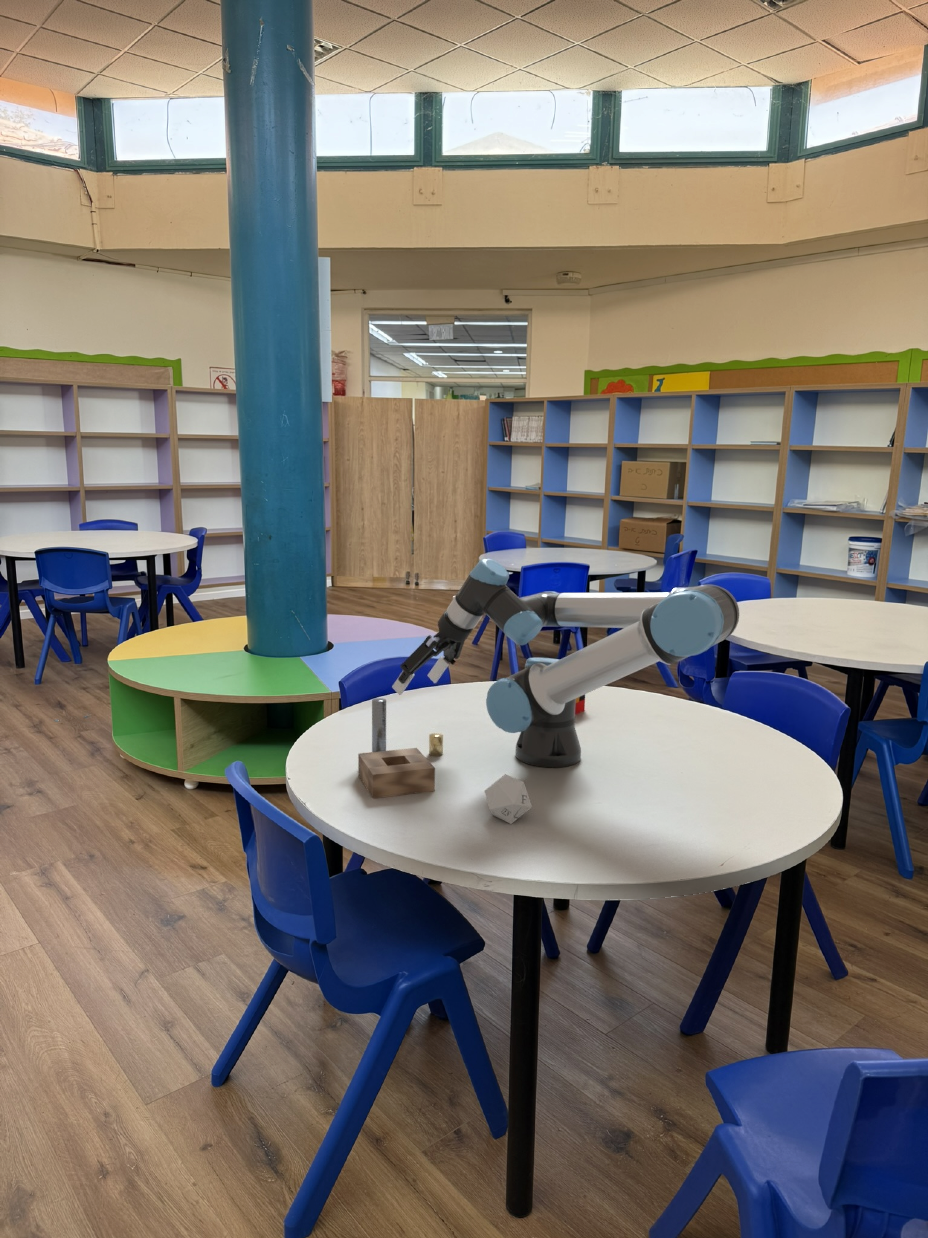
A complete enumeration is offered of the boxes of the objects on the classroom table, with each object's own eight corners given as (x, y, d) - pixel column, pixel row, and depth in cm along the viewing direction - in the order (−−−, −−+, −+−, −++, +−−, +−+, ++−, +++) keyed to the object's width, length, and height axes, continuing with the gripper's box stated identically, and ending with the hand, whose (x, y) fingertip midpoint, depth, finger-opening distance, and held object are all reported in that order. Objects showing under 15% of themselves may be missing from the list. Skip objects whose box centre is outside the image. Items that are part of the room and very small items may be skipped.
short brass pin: (445, 753, 192) (445, 734, 191) (437, 757, 189) (437, 738, 188) (434, 750, 193) (434, 732, 193) (426, 754, 191) (426, 735, 190)
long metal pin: (389, 759, 187) (389, 699, 185) (380, 763, 184) (380, 703, 182) (378, 756, 189) (378, 697, 186) (369, 760, 186) (369, 700, 184)
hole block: (416, 769, 181) (416, 747, 180) (434, 791, 169) (434, 767, 168) (358, 775, 176) (358, 753, 176) (373, 798, 164) (373, 774, 164)
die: (487, 831, 152) (519, 797, 149) (468, 795, 158) (499, 761, 154) (516, 835, 157) (548, 802, 154) (498, 800, 163) (527, 767, 160)
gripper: (479, 601, 194) (435, 664, 204) (415, 615, 174) (370, 684, 184) (500, 622, 192) (455, 685, 202) (438, 639, 171) (391, 708, 181)
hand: (414, 684), depth 193 cm, fingers open, 13 cm apart
